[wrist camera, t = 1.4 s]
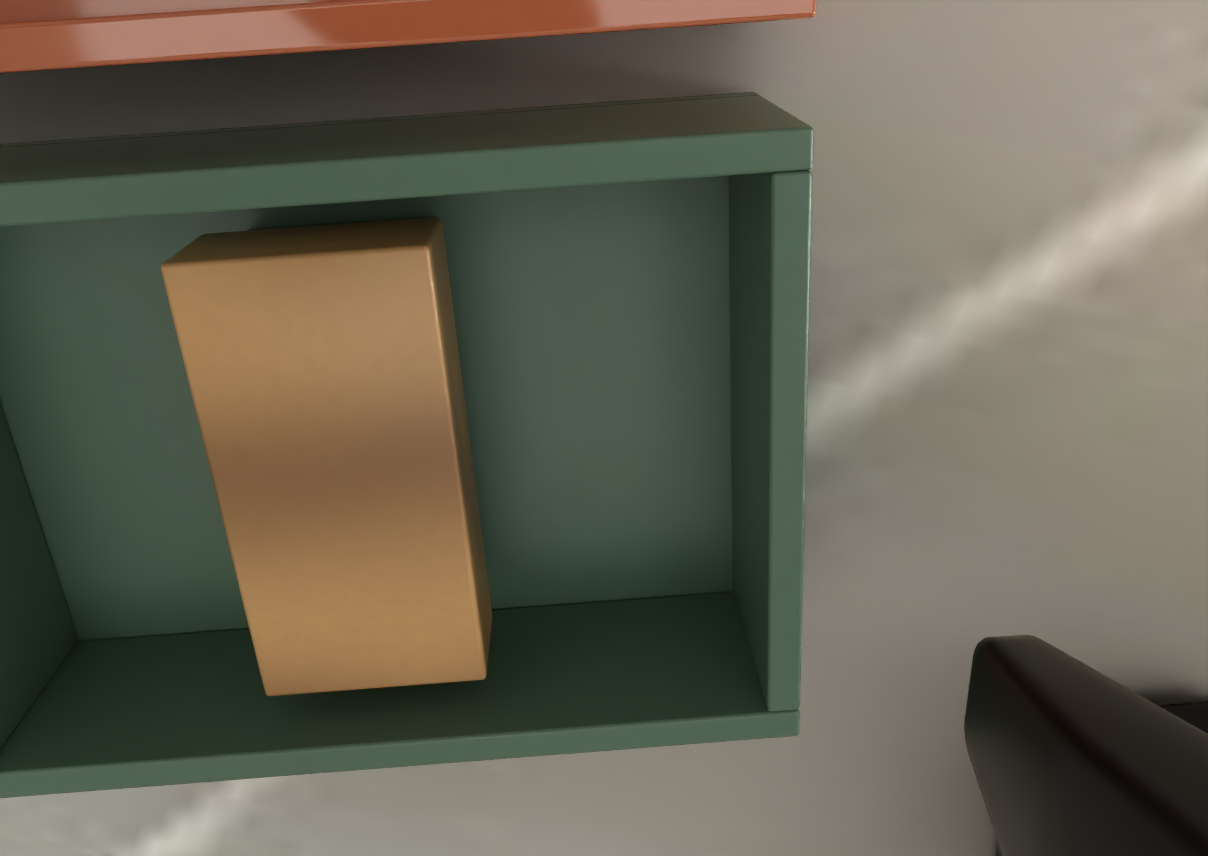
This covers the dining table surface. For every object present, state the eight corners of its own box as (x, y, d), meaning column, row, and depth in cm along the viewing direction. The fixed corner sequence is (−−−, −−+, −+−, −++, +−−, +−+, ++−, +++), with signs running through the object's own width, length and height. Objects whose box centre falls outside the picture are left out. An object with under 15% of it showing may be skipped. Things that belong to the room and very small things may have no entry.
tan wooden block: (496, 576, 22) (487, 681, 18) (307, 590, 21) (264, 698, 18) (450, 197, 18) (428, 245, 15) (226, 213, 18) (157, 264, 15)
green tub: (755, 598, 23) (800, 737, 19) (69, 650, 22) (-39, 802, 18) (756, 91, 18) (814, 126, 14) (-99, 150, 18) (-293, 203, 14)
